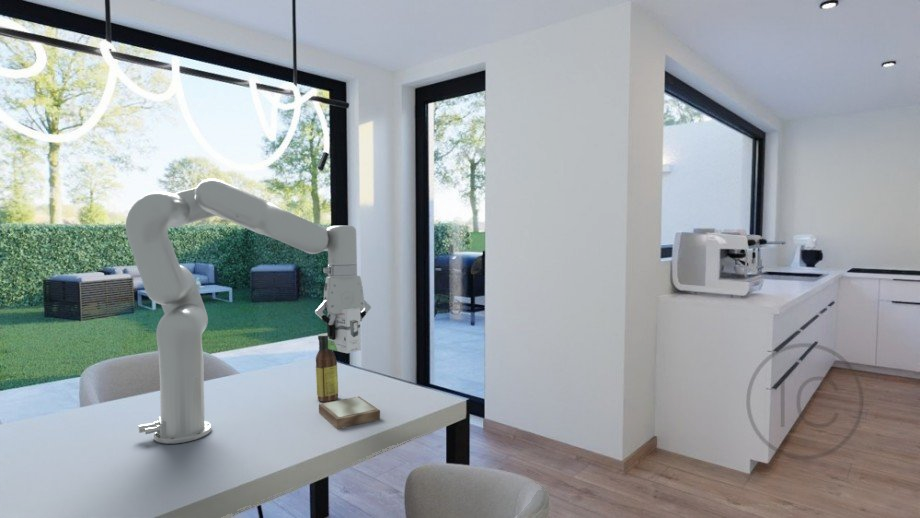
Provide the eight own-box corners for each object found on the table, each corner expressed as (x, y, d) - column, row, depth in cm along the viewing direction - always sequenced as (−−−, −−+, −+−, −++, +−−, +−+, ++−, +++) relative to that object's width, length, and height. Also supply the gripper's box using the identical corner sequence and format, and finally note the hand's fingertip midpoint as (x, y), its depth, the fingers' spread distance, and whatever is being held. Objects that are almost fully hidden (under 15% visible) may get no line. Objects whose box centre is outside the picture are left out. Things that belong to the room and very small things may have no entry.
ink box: (327, 349, 138) (326, 306, 137) (341, 346, 142) (340, 304, 141) (347, 353, 132) (346, 309, 132) (362, 350, 136) (361, 307, 136)
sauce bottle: (341, 396, 155) (340, 332, 154) (334, 403, 149) (333, 336, 148) (320, 395, 156) (320, 331, 155) (312, 402, 150) (312, 336, 149)
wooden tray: (337, 428, 129) (337, 418, 129) (318, 412, 141) (318, 403, 141) (379, 419, 136) (379, 409, 136) (359, 404, 148) (359, 395, 148)
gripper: (315, 273, 128) (317, 344, 129) (378, 270, 138) (379, 335, 139) (306, 272, 134) (308, 339, 135) (366, 268, 144) (368, 331, 145)
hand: (344, 336), depth 137 cm, fingers closed on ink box, 6 cm apart
